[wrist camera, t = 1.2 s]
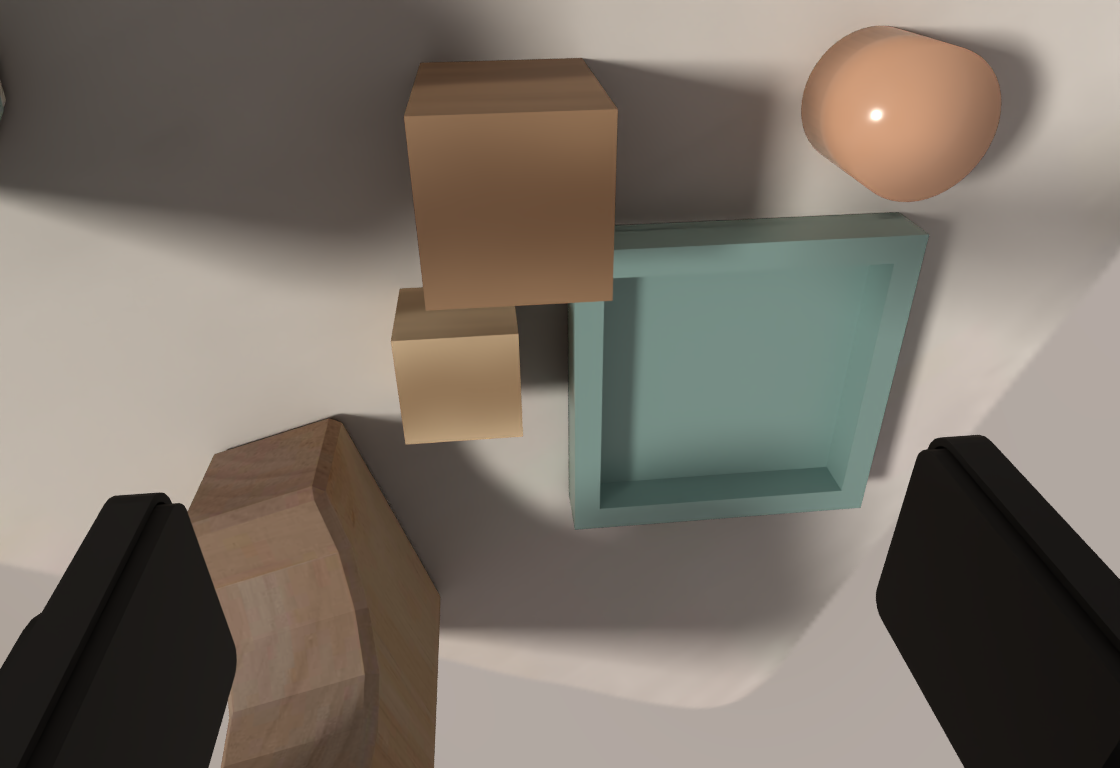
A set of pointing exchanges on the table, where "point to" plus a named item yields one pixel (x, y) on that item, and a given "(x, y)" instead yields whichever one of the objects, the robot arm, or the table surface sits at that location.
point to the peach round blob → (901, 111)
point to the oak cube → (456, 371)
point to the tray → (737, 367)
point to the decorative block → (318, 607)
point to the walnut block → (512, 182)
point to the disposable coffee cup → (2, 101)
